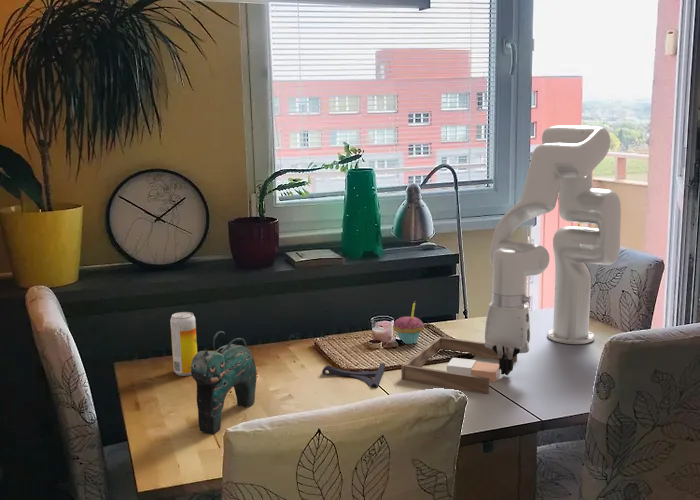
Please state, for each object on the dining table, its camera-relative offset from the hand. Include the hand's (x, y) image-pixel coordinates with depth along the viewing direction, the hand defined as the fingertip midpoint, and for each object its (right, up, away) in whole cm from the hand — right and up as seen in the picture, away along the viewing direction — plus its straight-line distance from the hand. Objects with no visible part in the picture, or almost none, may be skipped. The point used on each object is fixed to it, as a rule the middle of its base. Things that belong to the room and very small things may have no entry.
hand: (505, 372), depth 183 cm
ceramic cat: (-64, -7, -21) cm, 68 cm away
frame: (-10, 0, +6) cm, 11 cm away
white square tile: (-10, -1, +3) cm, 11 cm away
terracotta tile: (-5, -2, +1) cm, 5 cm away
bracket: (-37, -2, +3) cm, 37 cm away
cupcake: (-22, +4, +28) cm, 36 cm away
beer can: (-79, -1, +7) cm, 79 cm away
